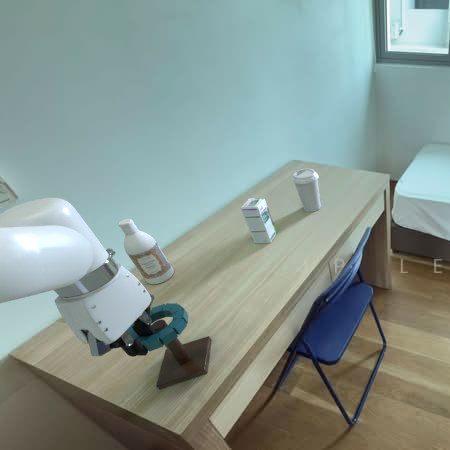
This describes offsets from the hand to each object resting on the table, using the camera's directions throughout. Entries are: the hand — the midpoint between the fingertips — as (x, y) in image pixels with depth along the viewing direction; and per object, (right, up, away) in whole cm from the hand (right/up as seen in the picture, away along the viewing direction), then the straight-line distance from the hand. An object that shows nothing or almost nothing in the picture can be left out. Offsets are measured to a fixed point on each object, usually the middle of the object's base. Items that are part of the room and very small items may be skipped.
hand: (145, 346), depth 58 cm
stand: (+1, -8, +10) cm, 13 cm away
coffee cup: (+13, +30, +64) cm, 72 cm away
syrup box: (+2, +18, +48) cm, 51 cm away
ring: (0, +2, +3) cm, 4 cm away
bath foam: (-24, +7, +34) cm, 42 cm away
